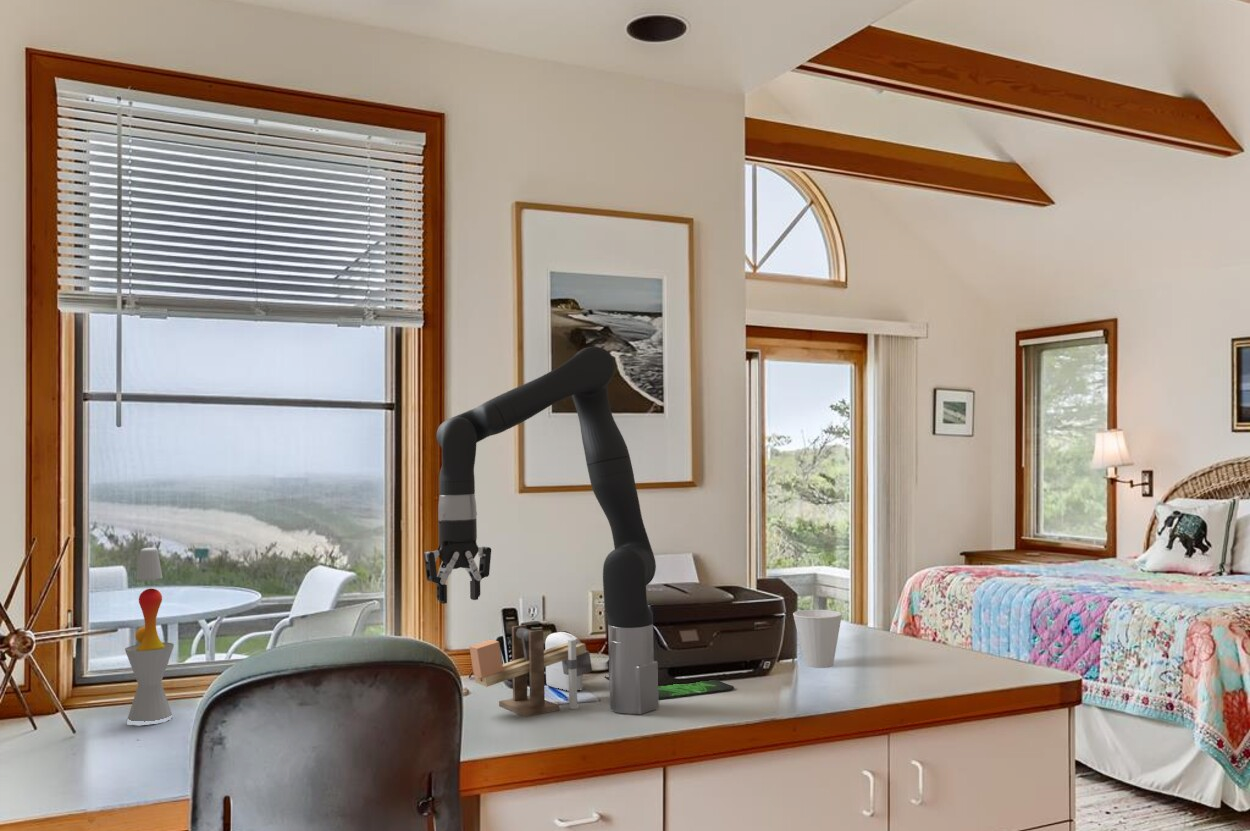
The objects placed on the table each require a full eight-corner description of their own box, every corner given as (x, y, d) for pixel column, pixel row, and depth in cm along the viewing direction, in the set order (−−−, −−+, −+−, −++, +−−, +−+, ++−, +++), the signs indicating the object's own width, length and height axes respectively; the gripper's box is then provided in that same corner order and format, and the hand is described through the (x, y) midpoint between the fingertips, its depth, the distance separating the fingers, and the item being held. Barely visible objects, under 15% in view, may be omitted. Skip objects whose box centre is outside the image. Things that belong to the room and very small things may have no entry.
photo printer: (543, 685, 224) (542, 631, 225) (558, 682, 227) (557, 628, 227) (569, 693, 216) (568, 636, 217) (585, 690, 219) (584, 634, 219)
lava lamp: (183, 717, 203) (182, 547, 204) (142, 728, 195) (142, 551, 197) (156, 712, 208) (155, 545, 209) (115, 723, 200) (115, 549, 201)
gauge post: (574, 706, 205) (573, 639, 205) (578, 708, 204) (576, 640, 204) (568, 708, 204) (566, 639, 204) (572, 709, 203) (570, 640, 203)
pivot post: (532, 699, 212) (531, 622, 212) (559, 710, 203) (557, 629, 203) (499, 705, 207) (497, 627, 208) (524, 716, 198) (523, 634, 199)
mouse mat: (600, 677, 233) (600, 673, 233) (684, 667, 241) (684, 663, 241) (646, 703, 208) (646, 698, 208) (738, 692, 216) (738, 687, 216)
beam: (579, 667, 216) (570, 611, 215) (593, 671, 211) (585, 614, 210) (478, 703, 201) (468, 643, 201) (491, 708, 197) (481, 648, 196)
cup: (784, 662, 243) (783, 612, 243) (824, 657, 248) (822, 607, 248) (813, 672, 232) (811, 619, 232) (854, 666, 237) (852, 614, 237)
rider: (496, 671, 203) (491, 639, 202) (504, 674, 200) (498, 641, 200) (474, 679, 200) (469, 646, 200) (482, 682, 197) (476, 648, 197)
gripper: (481, 514, 205) (482, 595, 204) (416, 518, 196) (417, 603, 196) (498, 516, 199) (499, 599, 198) (431, 520, 190) (432, 607, 190)
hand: (458, 601), depth 197 cm, fingers open, 6 cm apart
